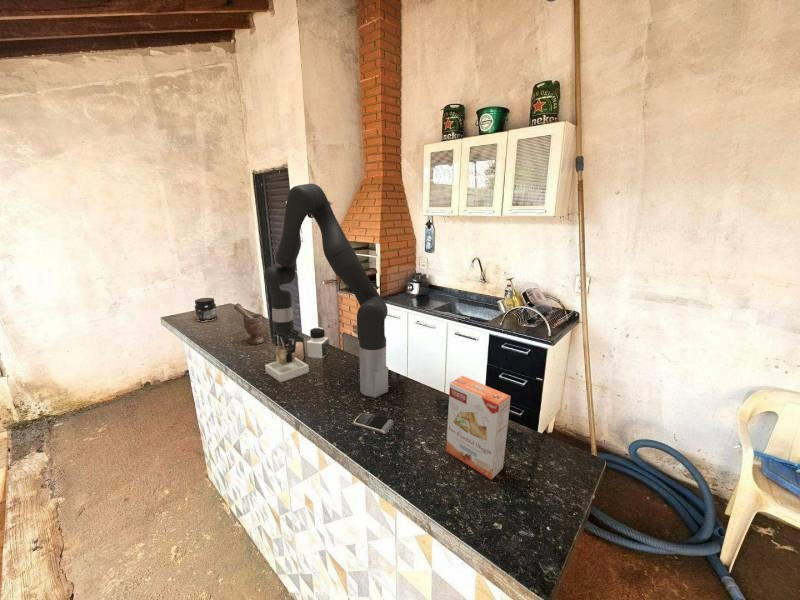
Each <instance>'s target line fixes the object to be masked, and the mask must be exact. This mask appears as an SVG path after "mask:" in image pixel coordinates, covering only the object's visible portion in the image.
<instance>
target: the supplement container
mask: <svg viewBox="0 0 800 600" xmlns="http://www.w3.org/2000/svg"><path fill="white" fill-rule="evenodd" d="M194 304H195V305H194V310H195V316H196V319H195V320H196V321H197V320H200V321H205V320H212V319H215V318H217V319H218V314H217V313H218V312H217V304H216V303H215V298H213V297H201V298H197V299H195V300H194Z"/></svg>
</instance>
